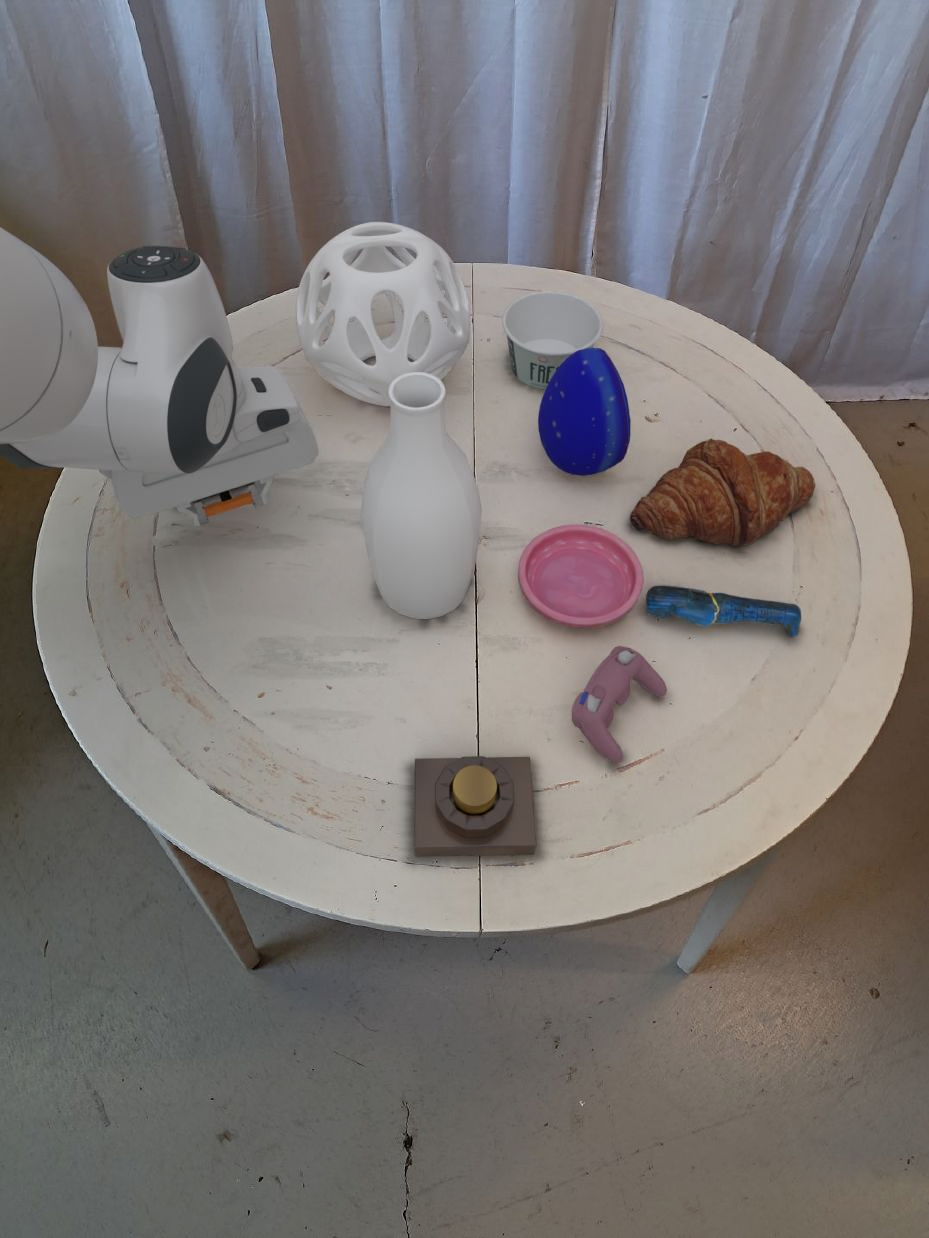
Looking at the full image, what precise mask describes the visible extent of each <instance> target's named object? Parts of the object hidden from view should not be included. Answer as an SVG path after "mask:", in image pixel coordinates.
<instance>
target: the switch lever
mask: <svg viewBox="0 0 929 1238" xmlns="http://www.w3.org/2000/svg"><path fill="white" fill-rule="evenodd" d="M217 495H218V497H219V499H220V500H219V501H215V502H213V503H209V504H206V505H203V508H204V510H205V512H206V515H207V518H210V517H213V516H217V515H219V514H223V513H226V512H230V511H232V510H237V509H238V508H241V507H245V506H248V505H252V504H253V499H252V496H251V493H250V492H249V491H248V492H244V493H242V494H239V495H235V496H232V494H231V491H230V490H227V491H224V492H220V493H218V494H217Z"/></svg>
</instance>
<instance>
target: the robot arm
mask: <svg viewBox="0 0 929 1238" xmlns="http://www.w3.org/2000/svg"><path fill="white" fill-rule="evenodd" d="M106 275H107V276H106V278H107V285H108V290H109V296H110V300H111V305H112V309H113V312H114V317H115V320H116V324H117V328H118V331H119V334H120V337H121V341H122V346H121V347H119V346H101V345H100V346H99V344H98V336H97V335H98V334H97V331H96V327H95V323H94V319H93V316H92V315H91V312H90V310H89V308H88V305H87V304H86V302H85V300H84V298H83V297H82V295H81V294H80V293H79V291H78V289H77V288H76V287H75V286H74V284H73V283H72V281H71V280H70V279H69V278H68V277H67V276H66V274H64V273H63V271H61V270H60V269H59V267H58V266H56V265H55V264H54V263H53V262H51V261H50V260H49V259H48V258H47V257H46V256H44V255H43V254H41V253H40V252H39V251H37V250H36V249H35V248H33V247H32V246H30V245H29V244H27V243H25V242H24V241H23V240H22V239H19V238H18V237H17V236H15V235H14V234H12V233H11V232H8V231H7V230H6V229H4V228H2V227H1V226H0V456H1V457H2V458H4V459H5V460H6V461H7V462H8V463H10V464H12V465H13V466H15V467H18V468H21V469H26V470H33V469H35V470H36V469H37V470H39V469H40V470H41V469H42V470H45V469H47V470H49V469H63V468H65V469H81V470H82V469H83V470H96V471H97V470H98V472H99V473H100V474H101V475H102V476H104V477H105V478H107V479H109V480H110V483H111V486H112V490H113V493H114V497H115V500H116V502H117V505H118V507H119V510H120V512H121V514H122V516H124V517H127V518H129V519H131V520H138V519H142V518H145V517H149V516H152V515H154V514H158V513H161V512H163V511H167V510H170V509H172V508H176V509H177V511H178V512H179V513H181V514H183V515H185V516H186V517H188V518H191V519H192V522H193V524H194V526H195V528H198V527H201V526H203V525H207V524H209V523H210V520H209V517H207V515H206V512H205V510H204V508H203V507H204V505H203V502H202V501H199V500H198V499H200V500H203V499H206V498H209V497H208V496H210V497H212V496H211V495H213V496H215V495H214V494H216V495H218V494H217V493H220V492H224V491H227V490H229V491H231V490H230V489H232V490H234V489H233V488H235V489H237V488H236V487H238V488H240V487H239V486H241V487H243V486H242V485H244V486H247V485H246V484H248V485H249V486H247V491H248V492H250V493H251V496H252V499H253V503H252V505H253V507H254V508H259V507H262V506H264V505H265V506H266V505H268V504H269V501H268V497H267V494H268V492H269V490H270V489H271V486H272V484H273V483H274V476H276V475H280V474H283V473H287V472H289V471H292V470H296V469H299V468H302V467H306V466H309V465H311V464H313V463H314V462H315V461H316V459H317V457H318V456H319V454H320V451H319V447H318V442H317V438H316V436H315V433H314V431H313V428H312V426H311V423H310V422H309V420H308V418H307V416H306V414H305V413H304V411H303V409H302V407H301V406H300V404H299V402H298V400H297V398H296V395H295V393H294V391H293V389H292V387H291V385H290V383H289V381H288V380H287V378H286V377H285V376H284V374H283V373H282V371H281V370H280V369H279V367H277V366H273V365H237V364H236V363H235V361H234V359H233V350H234V341H233V336H232V332H231V328H230V324H229V320H228V316H227V313H226V311H225V306H224V304H223V301H222V297H221V295H220V293H219V289H218V287H217V285H216V282H215V280H214V278H213V275H212V274H211V270H209V268H208V266H207V264H206V262H205V261H204V259H203V258H202V257H201V256H200V255H199V254H198V253H196V252H195V251H192V250H191V249H187V248H185V247H180V246H173V245H172V246H171V245H170V246H169V245H142V246H139V247H136V248H131V249H128V250H125V251H123V252H121V253H120V254H118V255H117V256H115V257H114V258H112V259H111V261H109V263H108V264H107V268H106ZM252 482H254V483H252ZM249 483H251V485H250V484H249ZM205 497H206V498H205ZM202 498H203V499H202ZM195 500H197V501H199V502H196V501H195ZM192 501H194V502H195V503H194V502H192Z"/></svg>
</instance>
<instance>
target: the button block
mask: <svg viewBox="0 0 929 1238" xmlns="http://www.w3.org/2000/svg"><path fill="white" fill-rule="evenodd" d="M471 765H478V766H482V767H485V768H487V769H488V770H489V771H491V772H492V774H493V775H494V777H495V779H496V782H497V792H496V799H495V802H494V804H493V805H492V806H491V808H489V809H488V810H487V811H485V812H483V813H479V814H471V813H467V812H464V811H463V810H461V809H460V808H459V807H458V806H457V805H456V803H455V801H454V799H453V781H454V778H455V776H456V774H457V773H458V772H459V771H460V770H461V769H463V768H465V767H467V766H471ZM531 766H532V765H531V757H530V756H497V757H495V756H493V757H491V756H489V757H486V756H483V755H479V756H476V755H474V756H461V757H438V758H437V757H436V758H435V757H433V758H430V757H429V758H414V822H413V823H414V825H413V826H414V832H413V833H414V835H413V836H414V837H413V839H414V840H413V841H414V842H413V846H414V847H413V848H414V856H415V857H416V858H421V857H423V858H424V857H426V858H427V857H428V858H429V857H472V856H474V857H475V856H476V857H477V856H480V857H481V856H523V855H525V856H526V855H527V856H528V855H531V856H532V855H535V852H536V849H537V834H536V820H535V819H536V818H535V807H534V795H533V794H534V792H533V780H532V767H531Z"/></svg>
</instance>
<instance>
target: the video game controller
mask: <svg viewBox="0 0 929 1238" xmlns="http://www.w3.org/2000/svg"><path fill="white" fill-rule="evenodd" d="M631 681H634V682H636V683H637V684H639V685H640V686H641V687H642V688H643V689H644V690H645V691H647V692H649V693H650V694H652V695H653V696H657V697H664V696H666V695H667V690H668V689H667V685H666V682H665V680H664V679H663V678H662V676H660V674H659V673H658V672H657V671H656V669H654V667H653V666H652V665H651V664H650V663H649V662H648V661H647V659H646V658H645V657H644V656H643V655H642V654H641V653H639V652H638V651H636V650H635V649H633V648H631V647H626V646H623V645H618V646H615V647H614V648H612V650H611V651H610V653H609V655H608V656H606V657H605V658H604V660H602V661H601V663H600V664H599V665H598V666H597V668H596V669H595V671H594V672H593V673H592V676H591V677H590V678H589V680H588V681H587V683H586V685H585V688H584V689H583V691H581V692H580V693H579V694H578V695H577V696H576V698H575V700H574V701H573V703H572V707H571V713H570V714H571V721H572V724H573V726H574V727H575V728H577V729H579V730H580V732H581V734H582V735H583V736H584V739H586V740H587V742H588V743H589V745H591V748H593V749H594V750H595V751H596V752H597V753H598V754H599V755H600V756H601V757H603V758H604V759H606V760H607V761H608V762H611V763H620V762H621V761H622V760H623V758H624V757H623V751H622V748H621V746H620V745H619V744H618V742H617V741H616V739H615V738H614V737H613V735H612V734H611V732H610V730H609V729H608V728H609V727H610V726H611V725H612V722H613V719H614V712H615V711H614V708H613V706H614V705H615V704H617V705H622V706H623V705H624V704H625V703H627V702H628V700H629V698H630V695H631Z"/></svg>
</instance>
